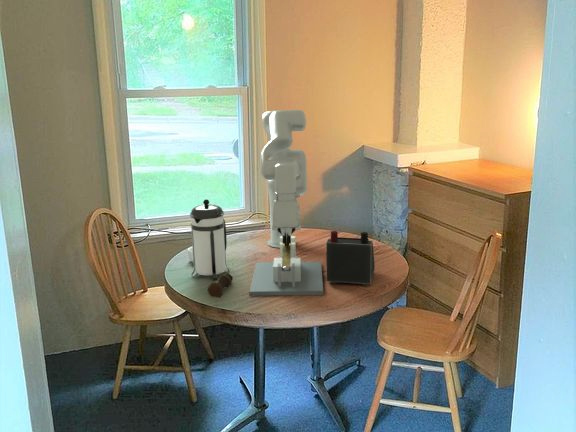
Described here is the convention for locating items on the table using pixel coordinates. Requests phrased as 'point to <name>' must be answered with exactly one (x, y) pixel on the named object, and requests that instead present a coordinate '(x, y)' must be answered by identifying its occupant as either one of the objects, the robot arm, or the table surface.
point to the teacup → (190, 253)
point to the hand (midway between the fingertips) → (286, 245)
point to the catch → (293, 246)
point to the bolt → (220, 285)
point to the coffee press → (208, 240)
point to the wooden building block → (286, 257)
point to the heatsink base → (286, 289)
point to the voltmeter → (349, 259)
